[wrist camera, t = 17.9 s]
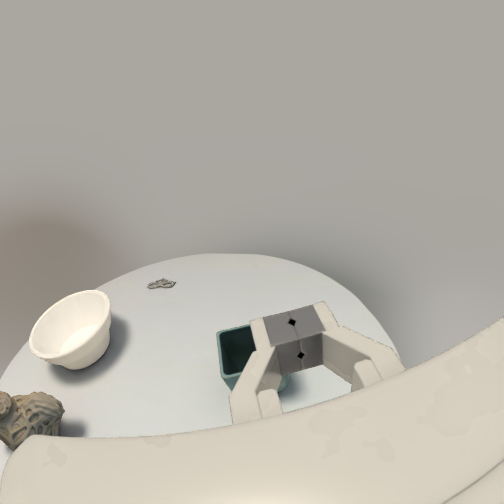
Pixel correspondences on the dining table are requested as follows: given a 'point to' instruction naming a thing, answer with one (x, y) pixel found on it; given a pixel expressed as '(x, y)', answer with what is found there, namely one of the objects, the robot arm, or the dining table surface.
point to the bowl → (73, 330)
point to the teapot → (28, 417)
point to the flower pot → (237, 354)
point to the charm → (161, 283)
